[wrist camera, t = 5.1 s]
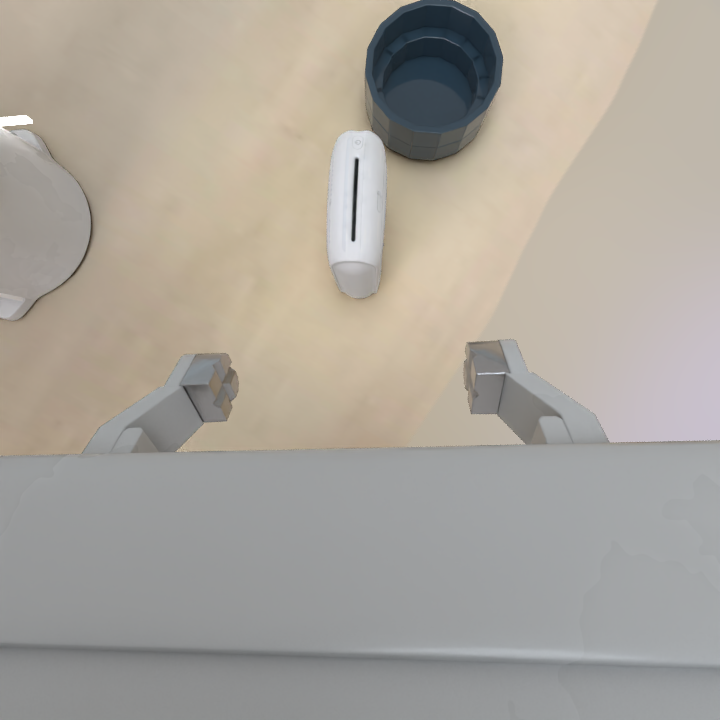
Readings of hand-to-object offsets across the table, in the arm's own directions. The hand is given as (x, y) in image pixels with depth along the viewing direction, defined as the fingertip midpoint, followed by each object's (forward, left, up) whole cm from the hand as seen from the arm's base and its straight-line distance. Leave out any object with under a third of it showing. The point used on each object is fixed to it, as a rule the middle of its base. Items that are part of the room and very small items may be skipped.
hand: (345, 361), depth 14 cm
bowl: (+4, +26, -25) cm, 36 cm away
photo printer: (-1, +11, -25) cm, 28 cm away
